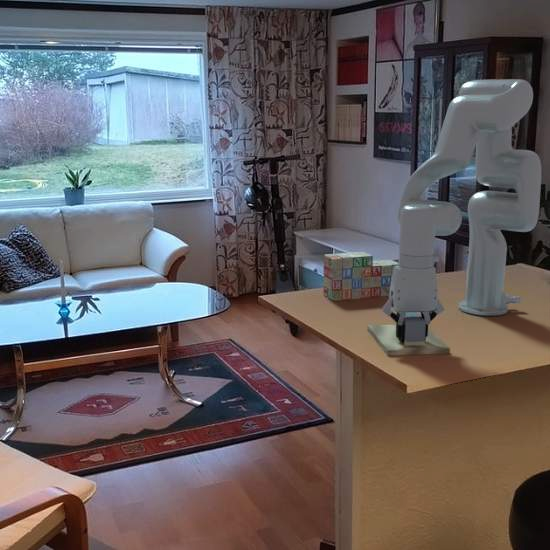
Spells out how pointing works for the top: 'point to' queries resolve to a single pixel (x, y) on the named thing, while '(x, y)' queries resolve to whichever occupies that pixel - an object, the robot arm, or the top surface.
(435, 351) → the board
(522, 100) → the robot arm
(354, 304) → the top surface
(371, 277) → the stack of blocks
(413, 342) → the block
